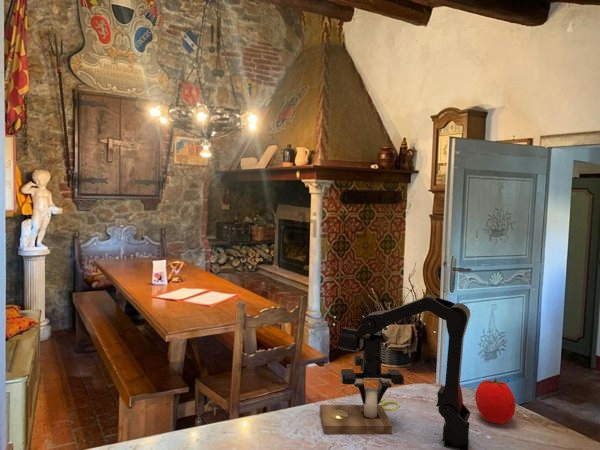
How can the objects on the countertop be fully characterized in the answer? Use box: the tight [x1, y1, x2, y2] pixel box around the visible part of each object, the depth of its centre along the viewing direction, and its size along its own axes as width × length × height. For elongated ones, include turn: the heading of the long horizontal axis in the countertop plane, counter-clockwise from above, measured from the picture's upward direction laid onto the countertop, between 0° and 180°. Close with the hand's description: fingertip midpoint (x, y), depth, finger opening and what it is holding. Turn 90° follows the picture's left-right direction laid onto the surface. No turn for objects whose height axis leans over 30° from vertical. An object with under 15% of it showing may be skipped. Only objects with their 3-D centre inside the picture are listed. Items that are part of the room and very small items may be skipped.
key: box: [379, 398, 400, 412], centre depth 160 cm, size 7×12×2 cm, turn 50°
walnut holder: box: [319, 404, 393, 435], centre depth 146 cm, size 20×14×2 cm
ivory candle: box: [363, 386, 378, 418], centre depth 146 cm, size 4×4×8 cm
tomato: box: [474, 377, 517, 425], centre depth 149 cm, size 12×12×13 cm
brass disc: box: [329, 410, 348, 419], centre depth 145 cm, size 6×6×1 cm
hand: (370, 403), depth 146 cm, fingers closed on ivory candle, 4 cm apart
